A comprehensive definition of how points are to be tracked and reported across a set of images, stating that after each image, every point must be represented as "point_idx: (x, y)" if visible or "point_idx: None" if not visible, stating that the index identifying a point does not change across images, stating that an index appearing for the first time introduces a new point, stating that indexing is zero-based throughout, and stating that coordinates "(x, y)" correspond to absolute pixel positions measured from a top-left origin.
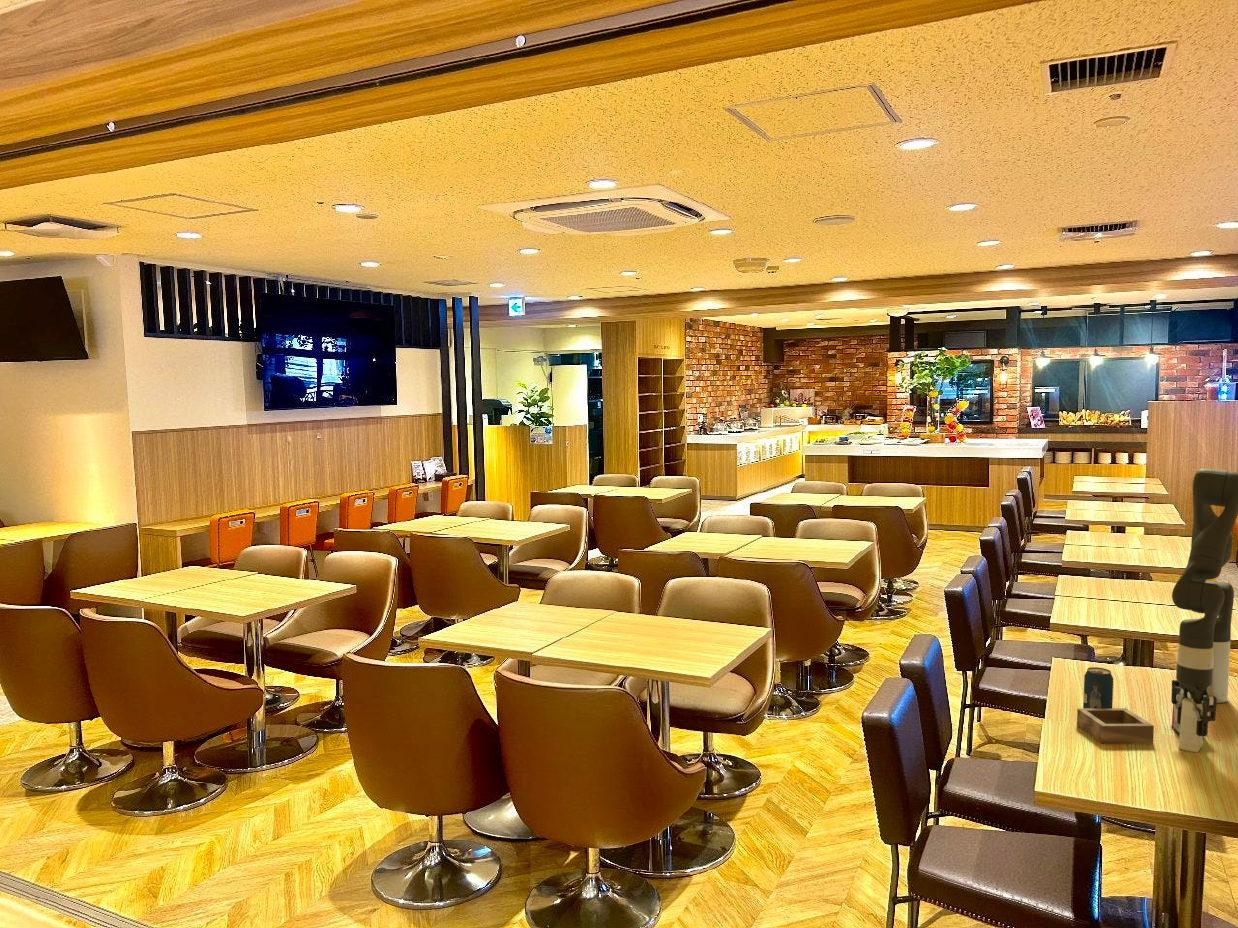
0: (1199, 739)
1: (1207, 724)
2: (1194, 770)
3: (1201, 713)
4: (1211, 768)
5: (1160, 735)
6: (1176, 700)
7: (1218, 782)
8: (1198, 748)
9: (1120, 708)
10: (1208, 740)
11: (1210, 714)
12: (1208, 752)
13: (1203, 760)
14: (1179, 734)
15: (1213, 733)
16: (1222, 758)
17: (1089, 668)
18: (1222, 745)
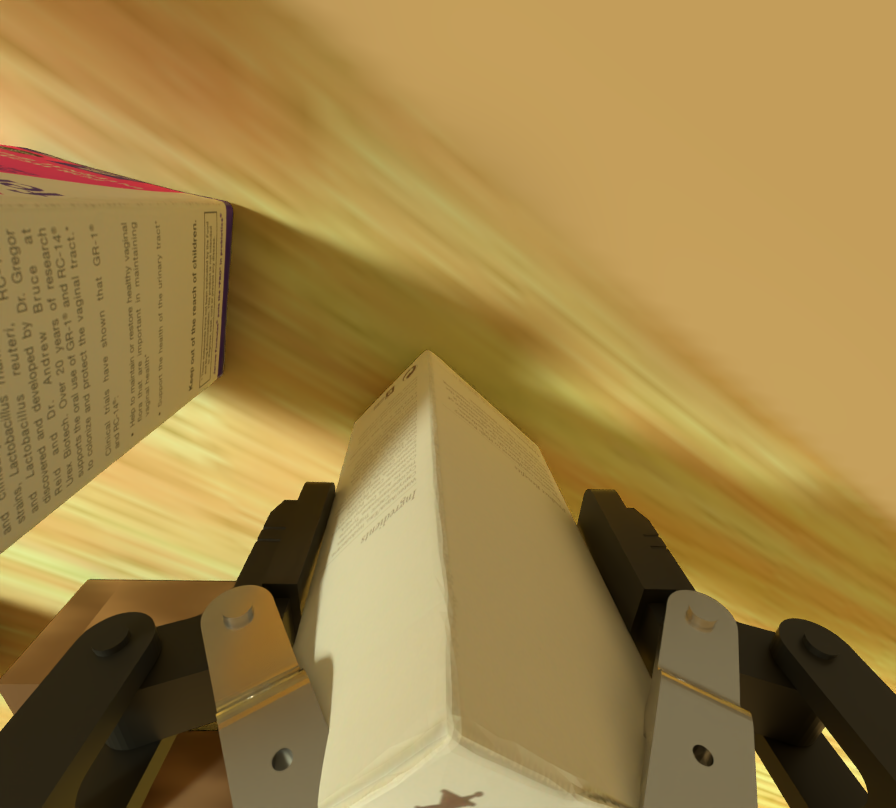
0: (552, 484)
1: (686, 583)
2: (733, 584)
3: (648, 693)
4: (745, 503)
5: (245, 489)
6: (160, 735)
7: (880, 565)
8: (541, 454)
9: (17, 709)
10: (316, 221)
11: (812, 705)
12: (542, 379)
13: (644, 480)
14: (219, 375)
15: (120, 32)
16: (648, 356)
17: None
18: (426, 177)
